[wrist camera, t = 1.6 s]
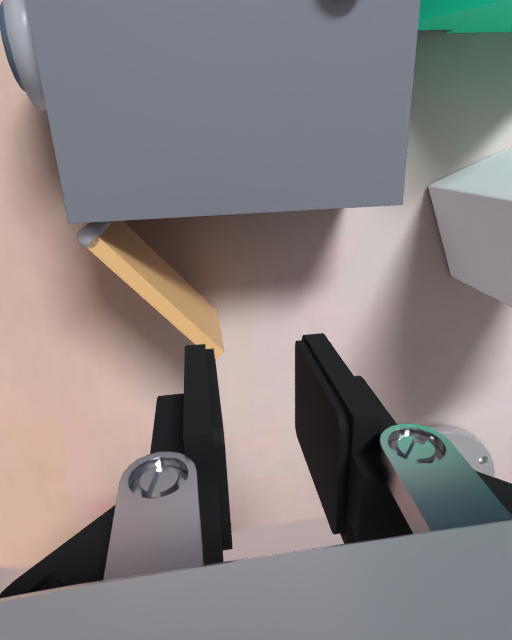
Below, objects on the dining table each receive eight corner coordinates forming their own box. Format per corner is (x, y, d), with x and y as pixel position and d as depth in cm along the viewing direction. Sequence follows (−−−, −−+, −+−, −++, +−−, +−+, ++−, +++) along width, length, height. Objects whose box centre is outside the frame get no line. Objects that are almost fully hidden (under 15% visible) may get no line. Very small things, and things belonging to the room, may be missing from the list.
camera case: (348, 191, 29) (408, 209, 21) (72, 205, 27) (24, 231, 19) (358, -33, 25) (438, -116, 17) (27, -36, 23) (-60, -132, 15)
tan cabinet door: (204, 323, 31) (208, 366, 25) (94, 220, 27) (67, 242, 21) (218, 310, 31) (225, 350, 25) (109, 205, 27) (86, 223, 21)
